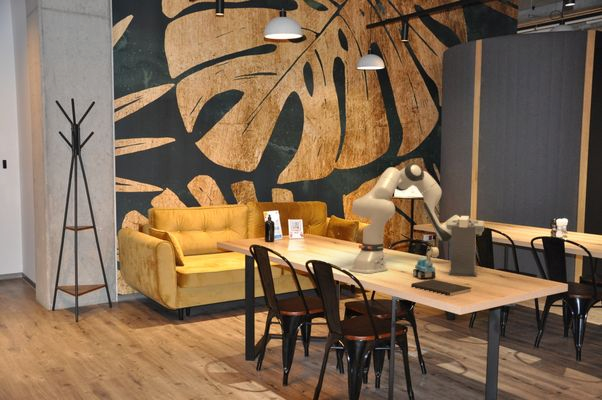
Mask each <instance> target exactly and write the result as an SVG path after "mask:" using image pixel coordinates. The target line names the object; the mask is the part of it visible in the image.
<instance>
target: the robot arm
mask: <svg viewBox="0 0 602 400" xmlns="http://www.w3.org/2000/svg"><path fill="white" fill-rule="evenodd" d="M378 178H379V179H378V180H377V181H376V183H375V184H374V187H373V188H371V190H370V191H368V192H367V193H365V195H363V196H361V197H359V198H356V199H355V200H354V201H353V203H352V207H351V210H352V213H353V214H354V216H357V217H360V218H365V219H371V221H370V222H369V224H368V225H366V226H364V228H363V230H362V243H361V244H358V249H360V252H359V253H358V254H357V256H355V258H354V260H353V266H352V267H350V268H348V269H349V272H353V273H359V274H374V273H379V272H385V271H388V267H387V264H386V263H387V262H386V254H385V253H384V248H385V244H384V230H385V226H386V225H387V223H388V221H389V220H390V219H392V218H393V216H394V215H395V212H396V207H395V204H394V203H393V201H391V200H390V199H391V198H392V196H393V194H394V193H395V191H396V190H397V191H401V192H403V191H407V190H408V189H409V188H410V187H412V186H414V187H415V188H416V189H417V190H418V192H419V193H420V194H421V196H422V198H423V203H422V206H423V209H424V211H425V213H426V215H427V217H428V219H429V221H430V223H431V225H432V227H433V230H434V231H435V234H436V236H437V238H438V240H439V241H441V242H445V243H446V242H448V243H449V242H450V241H451V234H452V225H453V224H454V225H459V219H460V218H461V216H463V215H462V214H454V215H453V216H451V217H450V218H448V219H447V220H446V221H445V222H444V223H442V224H441V222H440V221H439V219H438V216H437V214H436V212H435V209H436V206H437V205H438V203H439V201H440V199H441V197H442V194H443V191H442V188H441V187H440V185H439V184H438V182H437V181H436V179H434V177H433V176H432V175H431V174H430V173H428V172H427V171H425V170H423V169H422V167H421V166H419V164H417V163H414V162H413V163H408V164H407V165H406V166H404V167H403V168H402V169H400V170H399V169H397V168H396V167H393V166H392V167H391V166H390V167H388V168H386V169H385V170H384V172H382V174H381V175H380V177H378ZM468 225H476V237H480V236H482V235H483V234H482V233H483V232H484V231H485V221H484V220H475V219H472V218H470V217H469V224H468Z"/></svg>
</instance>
